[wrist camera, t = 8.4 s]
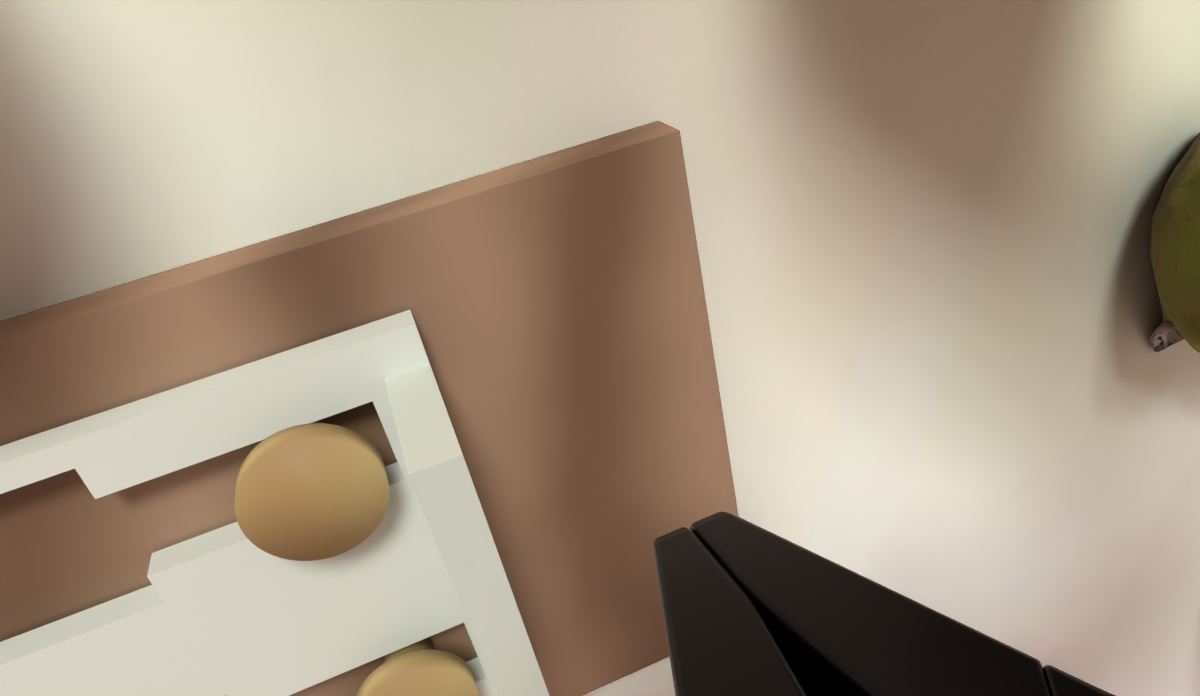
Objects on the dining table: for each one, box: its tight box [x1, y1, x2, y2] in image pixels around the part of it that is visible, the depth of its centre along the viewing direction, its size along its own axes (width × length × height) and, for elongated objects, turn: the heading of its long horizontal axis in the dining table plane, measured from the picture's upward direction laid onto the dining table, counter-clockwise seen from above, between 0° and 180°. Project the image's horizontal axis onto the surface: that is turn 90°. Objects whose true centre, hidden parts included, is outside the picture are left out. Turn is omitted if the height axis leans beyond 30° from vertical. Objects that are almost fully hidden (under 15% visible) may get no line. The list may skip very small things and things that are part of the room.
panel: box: [0, 310, 549, 696], centre depth 18 cm, size 12×12×4 cm
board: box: [0, 121, 738, 696], centre depth 20 cm, size 19×16×3 cm
